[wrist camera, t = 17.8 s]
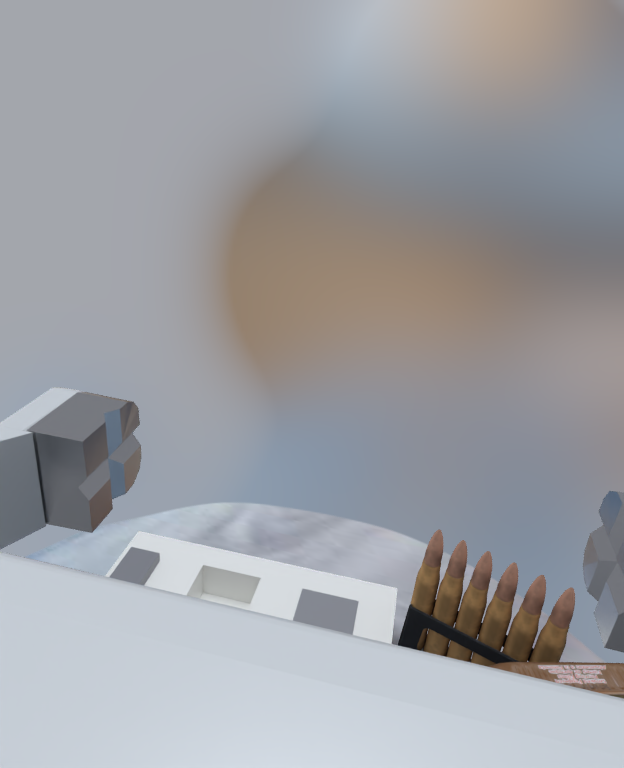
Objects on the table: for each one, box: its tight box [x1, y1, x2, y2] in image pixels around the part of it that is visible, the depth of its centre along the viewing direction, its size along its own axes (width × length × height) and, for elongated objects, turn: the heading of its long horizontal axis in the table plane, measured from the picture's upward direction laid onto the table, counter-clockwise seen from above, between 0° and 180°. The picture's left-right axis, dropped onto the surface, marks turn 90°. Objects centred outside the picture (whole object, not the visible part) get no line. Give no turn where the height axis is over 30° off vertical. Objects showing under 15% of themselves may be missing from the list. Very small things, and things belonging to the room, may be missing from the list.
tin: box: [487, 662, 624, 699], centre depth 36 cm, size 15×3×8 cm, turn 92°
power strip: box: [106, 531, 397, 644], centre depth 44 cm, size 22×9×5 cm, turn 78°
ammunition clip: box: [398, 530, 575, 666], centre depth 40 cm, size 11×2×12 cm, turn 58°
